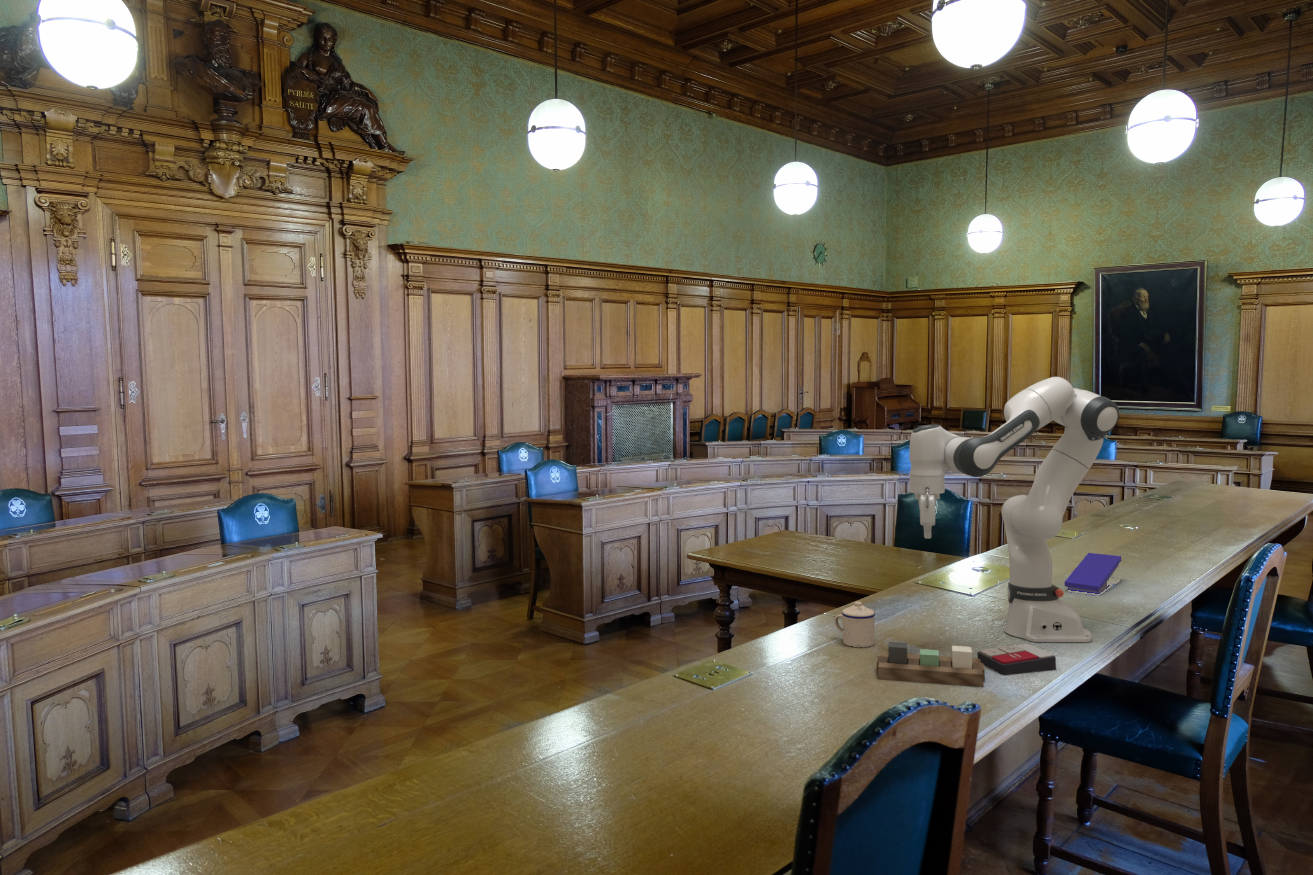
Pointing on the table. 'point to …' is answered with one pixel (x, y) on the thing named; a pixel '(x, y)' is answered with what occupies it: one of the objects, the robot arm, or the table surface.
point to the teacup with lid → (857, 625)
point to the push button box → (1017, 659)
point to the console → (931, 671)
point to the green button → (929, 657)
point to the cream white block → (961, 657)
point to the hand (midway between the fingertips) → (927, 537)
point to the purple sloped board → (1093, 573)
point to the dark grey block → (897, 652)
